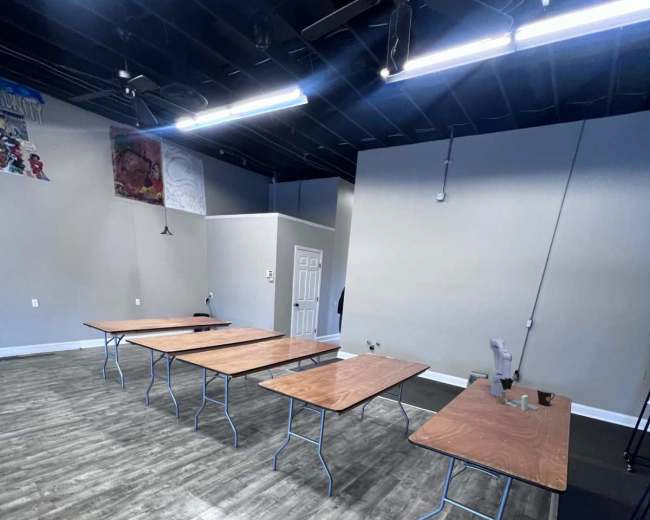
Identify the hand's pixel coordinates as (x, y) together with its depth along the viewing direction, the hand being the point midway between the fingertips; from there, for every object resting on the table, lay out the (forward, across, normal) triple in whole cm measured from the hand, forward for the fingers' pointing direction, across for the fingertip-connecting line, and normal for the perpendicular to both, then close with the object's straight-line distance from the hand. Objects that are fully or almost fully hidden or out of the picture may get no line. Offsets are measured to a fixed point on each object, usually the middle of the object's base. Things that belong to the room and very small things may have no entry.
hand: (507, 389), depth 215 cm
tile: (+11, +1, -10) cm, 15 cm away
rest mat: (+9, +11, -7) cm, 16 cm away
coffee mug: (+8, +27, -17) cm, 33 cm away
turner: (+10, +1, 0) cm, 10 cm away
